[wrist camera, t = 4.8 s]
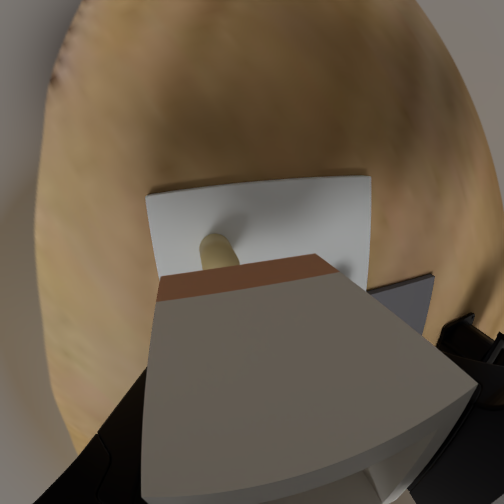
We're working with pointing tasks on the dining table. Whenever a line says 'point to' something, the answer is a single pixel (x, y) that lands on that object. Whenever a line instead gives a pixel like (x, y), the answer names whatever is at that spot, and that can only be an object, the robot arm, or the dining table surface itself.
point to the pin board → (264, 224)
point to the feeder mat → (408, 300)
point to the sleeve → (288, 390)
